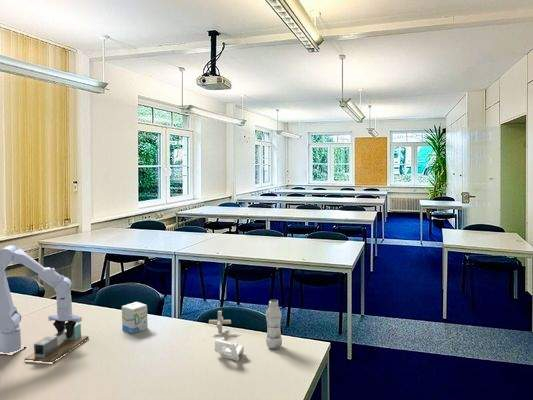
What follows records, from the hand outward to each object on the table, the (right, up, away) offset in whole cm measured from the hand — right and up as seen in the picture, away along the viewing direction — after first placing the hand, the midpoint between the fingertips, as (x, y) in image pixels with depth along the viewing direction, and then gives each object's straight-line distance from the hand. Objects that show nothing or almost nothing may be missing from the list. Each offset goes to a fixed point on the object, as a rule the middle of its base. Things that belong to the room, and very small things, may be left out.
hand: (65, 337), depth 180 cm
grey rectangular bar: (0, 0, -1) cm, 1 cm away
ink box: (+24, -2, +17) cm, 30 cm away
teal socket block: (+1, -2, +4) cm, 5 cm away
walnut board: (-1, -4, -6) cm, 7 cm away
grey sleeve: (-2, -3, -12) cm, 12 cm away
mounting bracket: (+71, -4, -12) cm, 72 cm away
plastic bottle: (+90, -3, -5) cm, 90 cm away
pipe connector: (+65, -2, +12) cm, 66 cm away
